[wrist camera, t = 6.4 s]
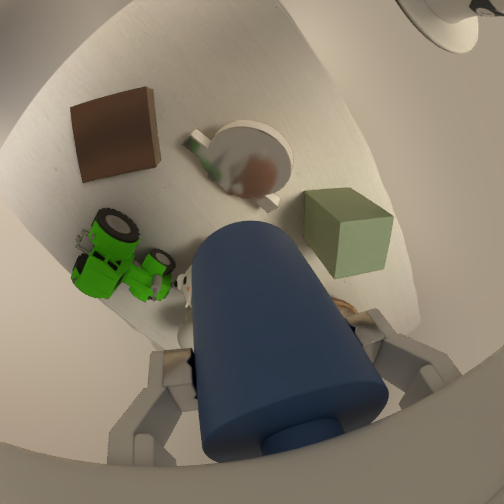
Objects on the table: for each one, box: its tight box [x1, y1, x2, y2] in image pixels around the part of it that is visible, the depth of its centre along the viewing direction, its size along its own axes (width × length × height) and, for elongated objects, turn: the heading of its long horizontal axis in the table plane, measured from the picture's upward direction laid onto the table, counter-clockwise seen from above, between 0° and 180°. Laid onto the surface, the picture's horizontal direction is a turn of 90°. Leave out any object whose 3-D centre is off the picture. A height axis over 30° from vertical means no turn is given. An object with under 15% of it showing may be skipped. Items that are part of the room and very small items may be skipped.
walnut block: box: [70, 87, 161, 183], centre depth 30 cm, size 10×10×5 cm
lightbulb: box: [177, 306, 194, 352], centre depth 43 cm, size 6×6×11 cm
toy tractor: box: [71, 208, 176, 302], centre depth 36 cm, size 11×16×10 cm
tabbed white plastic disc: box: [182, 120, 293, 213], centre depth 34 cm, size 15×8×11 cm
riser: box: [303, 188, 394, 279], centre depth 38 cm, size 8×8×12 cm
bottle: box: [191, 221, 389, 463], centre depth 9 cm, size 6×6×13 cm
